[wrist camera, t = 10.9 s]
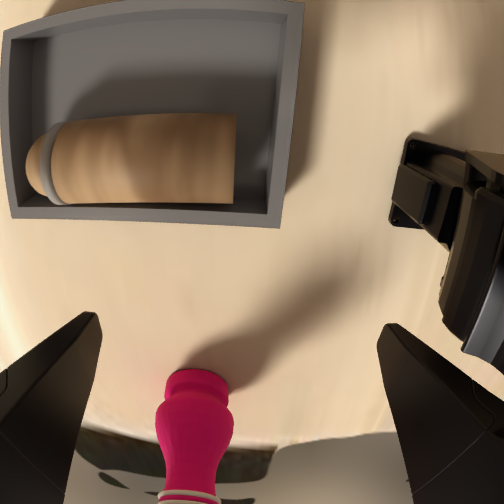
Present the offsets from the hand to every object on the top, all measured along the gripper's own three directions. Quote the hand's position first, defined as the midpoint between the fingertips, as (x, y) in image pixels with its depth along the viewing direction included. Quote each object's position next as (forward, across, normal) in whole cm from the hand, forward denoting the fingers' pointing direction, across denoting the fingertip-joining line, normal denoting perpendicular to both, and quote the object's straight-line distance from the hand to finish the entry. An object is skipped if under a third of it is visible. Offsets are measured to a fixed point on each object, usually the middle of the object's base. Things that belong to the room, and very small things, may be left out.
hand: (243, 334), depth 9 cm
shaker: (+10, 0, -3) cm, 10 cm away
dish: (+13, +6, -6) cm, 16 cm away
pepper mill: (+13, +3, +20) cm, 24 cm away
